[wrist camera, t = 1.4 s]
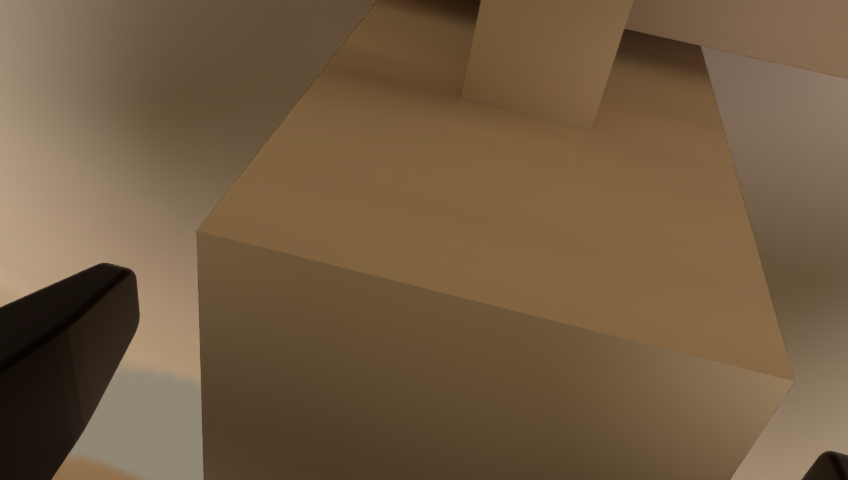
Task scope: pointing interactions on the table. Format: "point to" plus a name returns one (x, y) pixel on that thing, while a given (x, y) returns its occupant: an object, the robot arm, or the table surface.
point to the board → (755, 29)
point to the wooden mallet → (489, 262)
